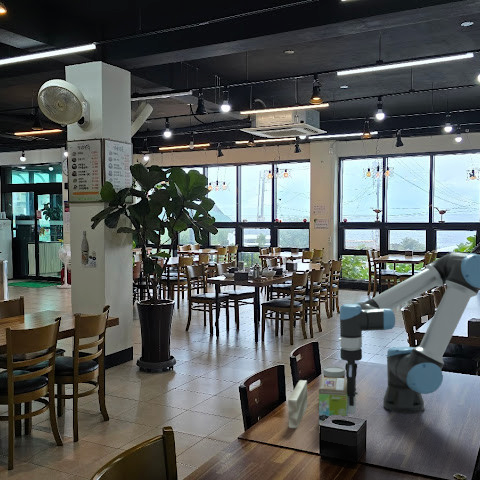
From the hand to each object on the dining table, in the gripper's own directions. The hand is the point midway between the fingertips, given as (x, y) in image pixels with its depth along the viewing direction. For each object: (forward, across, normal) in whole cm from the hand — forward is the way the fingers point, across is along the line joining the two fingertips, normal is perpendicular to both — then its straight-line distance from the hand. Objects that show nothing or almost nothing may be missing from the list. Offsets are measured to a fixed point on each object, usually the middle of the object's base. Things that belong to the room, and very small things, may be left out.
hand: (351, 413), depth 197 cm
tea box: (+4, 0, -6) cm, 8 cm away
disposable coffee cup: (+4, -28, -9) cm, 29 cm away
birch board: (+4, -5, -20) cm, 21 cm away
